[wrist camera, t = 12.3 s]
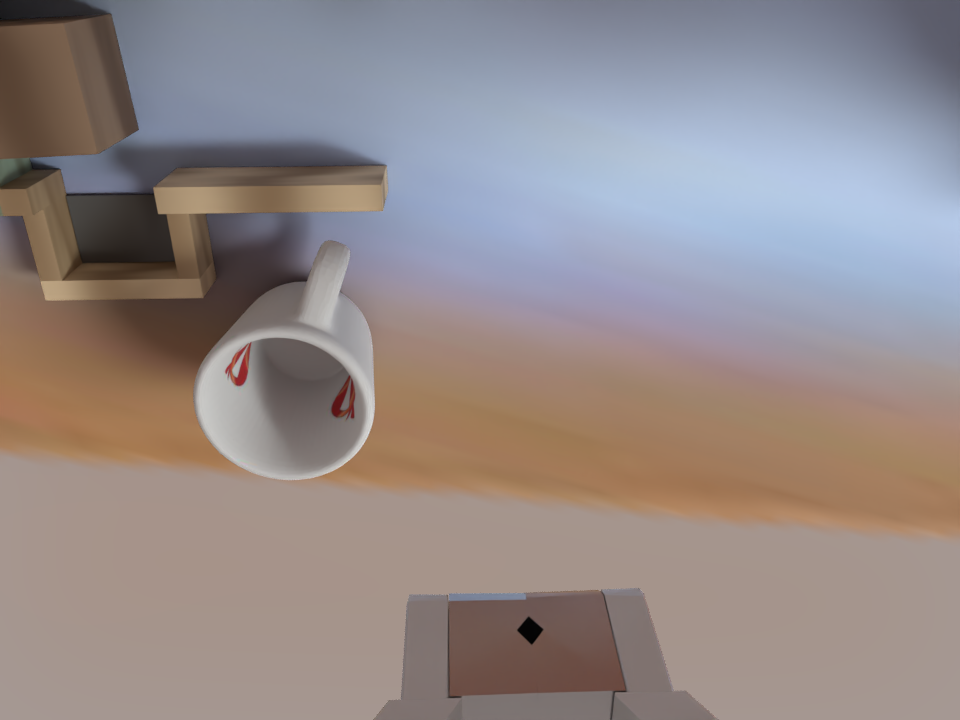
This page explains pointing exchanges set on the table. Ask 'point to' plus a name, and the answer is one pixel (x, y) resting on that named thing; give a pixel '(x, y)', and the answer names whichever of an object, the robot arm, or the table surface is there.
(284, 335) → the cup
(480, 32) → the table surface
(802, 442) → the table surface
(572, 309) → the table surface
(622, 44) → the table surface
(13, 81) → the block
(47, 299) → the wooden flat frame
